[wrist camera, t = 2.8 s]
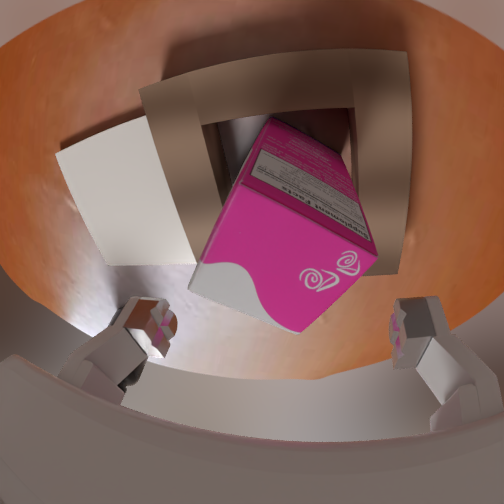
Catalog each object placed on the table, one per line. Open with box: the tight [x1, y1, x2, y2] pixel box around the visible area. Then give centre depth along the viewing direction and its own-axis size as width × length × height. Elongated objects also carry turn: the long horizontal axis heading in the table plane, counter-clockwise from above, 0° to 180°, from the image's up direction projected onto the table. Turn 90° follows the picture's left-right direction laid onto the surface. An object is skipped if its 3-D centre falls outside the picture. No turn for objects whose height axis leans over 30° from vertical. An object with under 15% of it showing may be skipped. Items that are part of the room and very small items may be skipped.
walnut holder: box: [139, 49, 412, 276], centre depth 18 cm, size 16×16×3 cm
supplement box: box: [188, 116, 378, 335], centre depth 15 cm, size 6×6×12 cm
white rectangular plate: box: [55, 115, 197, 266], centre depth 23 cm, size 14×12×1 cm
